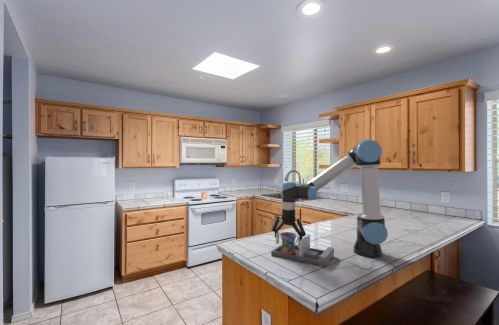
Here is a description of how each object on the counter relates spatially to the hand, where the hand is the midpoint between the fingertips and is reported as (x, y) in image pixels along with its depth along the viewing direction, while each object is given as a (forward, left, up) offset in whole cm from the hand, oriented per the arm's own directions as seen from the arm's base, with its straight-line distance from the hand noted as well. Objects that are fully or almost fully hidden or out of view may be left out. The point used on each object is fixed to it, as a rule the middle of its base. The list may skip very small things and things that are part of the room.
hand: (288, 245), depth 147 cm
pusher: (-13, 0, -4) cm, 13 cm away
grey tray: (-9, 0, -4) cm, 10 cm away
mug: (-1, 0, -4) cm, 4 cm away
